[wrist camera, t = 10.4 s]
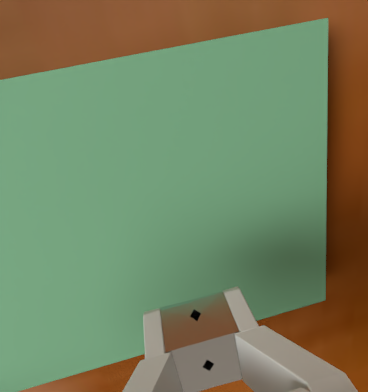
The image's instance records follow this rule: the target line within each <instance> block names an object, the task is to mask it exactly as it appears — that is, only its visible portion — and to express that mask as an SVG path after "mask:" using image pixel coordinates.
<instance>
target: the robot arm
mask: <svg viewBox="0 0 368 392" xmlns="http://www.w3.org/2000/svg"><path fill="white" fill-rule="evenodd" d="M143 327H144V347H145V359H144V360H141V361H140V362H139V363H138V365H137V367H136V369H135V370H134V372H133V374H132V376H131V378H130V379H129V381H128V383H127V385H126V386H125V388H124V390H123V392H199V391H202V390H205V389H208V388H211V387H215V386H218V385H222V384H226V383H230V382H233V381H237V380H241V379H243V381H244V382H245V383H246V384H247V385H248V386H249V387H250V388H251V389H252V390H253V391H254V392H358V391H357V390H356V388H355V387H354V385H353V384H352V383H351V381H350V380H349V378H348V377H347V375H346V374H345V373H344V372H342V371H341V370H339V369H337V368H335V367H334V366H332V365H330V364H329V363H327V362H325V361H324V360H322V359H320V358H319V357H317V356H315V355H313V354H312V353H310V352H308V351H307V350H305V349H303V348H302V347H300V346H298V345H297V344H295V343H293V342H292V341H290V340H288V339H286V338H285V337H283V336H281V335H280V334H278V333H276V332H275V331H273V330H271V329H270V328H268V327H266V326H264V325H263V326H259V325H258V323H257V321H256V319H255V317H254V315H253V314H252V312H251V310H250V308H249V306H248V304H247V302H246V300H245V298H244V296H243V294H242V292H241V290H240V288H239V287H238V286H237V287H233V288H230V289H226V290H223V291H220V292H217V293H213V294H210V295H206V296H202V297H199V298H195V299H192V300H189V301H185V302H181V303H177V304H172V305H168V306H164V307H160V308H158V309H154V310H150V311H146V312H144V314H143Z"/></svg>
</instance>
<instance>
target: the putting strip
mask: <svg viewBox="0 0 368 392" xmlns="http://www.w3.org/2000/svg"><path fill="white" fill-rule="evenodd" d="M327 100H328V18H325V19H319V20H314V21H309V22H304V23H298V24H293V25H288V26H283V27H277V28H272V29H267V30H262V31H256V32H251V33H246V34H240V35H235V36H230V37H225V38H219V39H214V40H209V41H204V42H198V43H193V44H188V45H183V46H177V47H172V48H167V49H161V50H156V51H151V52H146V53H140V54H135V55H130V56H125V57H119V58H114V59H109V60H103V61H98V62H93V63H88V64H82V65H77V66H72V67H67V68H61V69H56V70H51V71H46V72H40V73H35V74H30V75H24V76H19V77H14V78H9V79H3V80H0V392H18V391H21V390H24V389H28V388H31V387H35V386H38V385H41V384H45V383H48V382H51V381H55V380H58V379H62V378H65V377H68V376H72V375H75V374H78V373H82V372H85V371H89V370H92V369H95V368H99V367H102V366H105V365H109V364H112V363H115V362H119V361H122V360H126V359H129V358H132V357H136V356H139V355H142V354H145V347H144V327H143V314H144V312H146V311H150V310H154V309H158V308H160V307H164V306H168V305H172V304H177V303H181V302H185V301H189V300H192V299H195V298H199V297H202V296H206V295H210V294H213V293H217V292H220V291H223V290H226V289H230V288H233V287H237V286H238V287H239V288H240V290H241V292H242V294H243V296H244V298H245V300H246V302H247V304H248V306H249V308H250V310H251V312H252V314H253V315H254V317H255V319H256V321H257V320H261V319H264V318H267V317H271V316H274V315H277V314H281V313H284V312H288V311H291V310H294V309H298V308H301V307H304V306H308V305H311V304H315V303H318V302H321V301H325V300H326V205H327Z"/></svg>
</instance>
